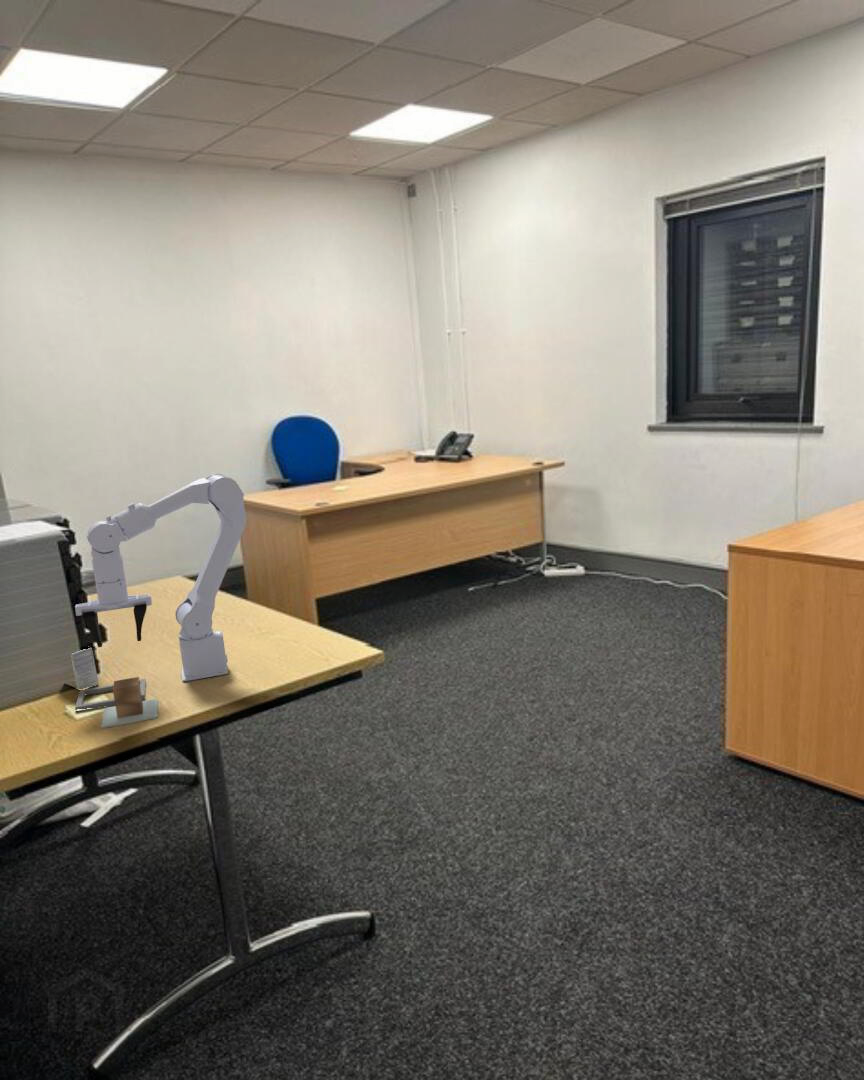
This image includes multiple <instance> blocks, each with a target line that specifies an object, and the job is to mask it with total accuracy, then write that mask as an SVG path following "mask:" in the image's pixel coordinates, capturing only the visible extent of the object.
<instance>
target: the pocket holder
mask: <svg viewBox="0 0 864 1080" xmlns="http://www.w3.org/2000/svg"><path fill="white" fill-rule="evenodd" d="M139 683H140V689H141V695H142V701H146V690H147V682H146V678H143V679H139ZM113 685H114V683H113V684H109V685H103V686H95V687H91V688H89V689H85V690H80V691H78V692H79V693H78V696H77V699H76V703H75V706H74V709H75V711H76V710H77V709H87V708H96V709H99V708H98V707H102V708H105V707H104V706H107V707H114V706H115V700H114V698H111V699H110V698H109V699H105V700H98V701H94V702H87V703H83V701H84V702H85V699H84V698H86V696H85V694H92V695H96V693H97V694H102V693H108V692H113Z"/></svg>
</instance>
